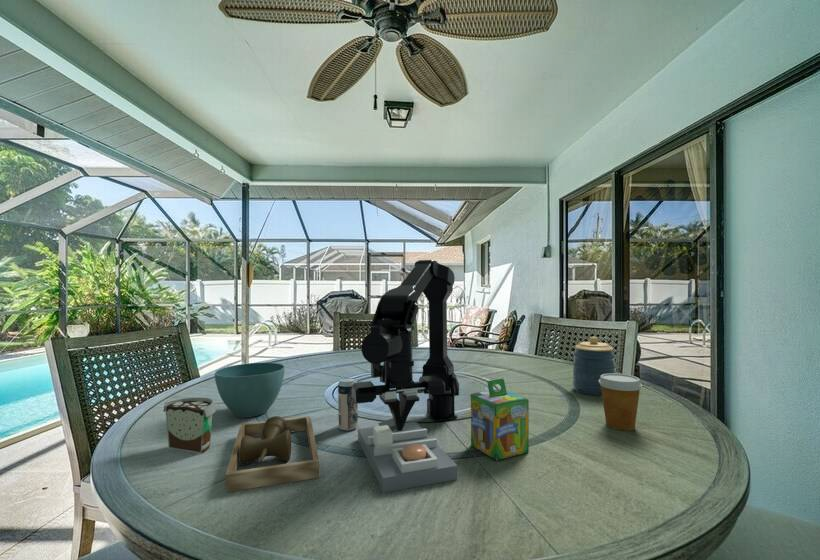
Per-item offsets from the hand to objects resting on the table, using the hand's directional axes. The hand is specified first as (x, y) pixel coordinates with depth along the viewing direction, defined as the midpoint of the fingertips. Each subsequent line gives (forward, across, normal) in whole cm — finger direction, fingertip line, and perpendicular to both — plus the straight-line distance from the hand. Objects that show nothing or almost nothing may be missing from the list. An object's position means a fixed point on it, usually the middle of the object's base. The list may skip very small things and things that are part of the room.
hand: (399, 430), depth 82 cm
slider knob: (+3, +3, 0) cm, 5 cm away
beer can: (+6, +7, -20) cm, 22 cm away
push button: (+3, -1, +8) cm, 8 cm away
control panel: (+6, -1, 0) cm, 6 cm away
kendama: (+6, +26, -11) cm, 29 cm away
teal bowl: (+6, +31, -41) cm, 52 cm away
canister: (+6, -74, -26) cm, 78 cm away
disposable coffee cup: (+6, -57, +1) cm, 57 cm away
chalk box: (+6, -22, +3) cm, 23 cm away
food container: (+6, +41, -21) cm, 47 cm away
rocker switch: (+2, -1, -8) cm, 8 cm away
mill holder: (+6, +24, -10) cm, 27 cm away
